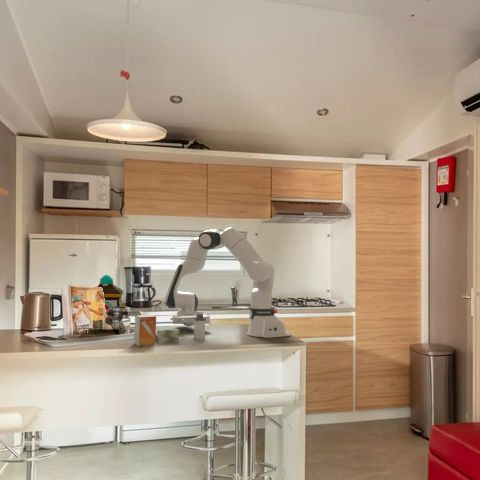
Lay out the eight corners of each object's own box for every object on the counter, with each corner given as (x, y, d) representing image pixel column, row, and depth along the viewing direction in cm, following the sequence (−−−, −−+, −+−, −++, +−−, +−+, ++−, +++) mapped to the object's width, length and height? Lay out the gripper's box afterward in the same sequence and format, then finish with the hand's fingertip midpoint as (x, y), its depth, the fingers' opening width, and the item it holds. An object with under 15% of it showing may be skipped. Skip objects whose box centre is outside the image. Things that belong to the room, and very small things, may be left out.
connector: (202, 337, 226) (203, 313, 227) (205, 339, 222) (205, 314, 222) (193, 337, 225) (194, 313, 225) (195, 339, 220) (196, 314, 221)
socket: (174, 338, 220) (175, 326, 221) (178, 342, 211) (179, 329, 211) (154, 339, 217) (154, 327, 217) (157, 343, 208) (157, 330, 208)
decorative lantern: (88, 328, 246) (90, 273, 248) (125, 328, 250) (126, 274, 252) (82, 334, 227) (84, 275, 228) (122, 334, 231) (124, 275, 232)
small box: (138, 346, 200) (139, 317, 201) (133, 343, 205) (134, 315, 206) (155, 344, 204) (156, 316, 205) (150, 342, 210) (151, 314, 210)
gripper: (169, 312, 245) (174, 315, 232) (206, 311, 252) (212, 315, 238) (169, 324, 245) (174, 328, 232) (205, 323, 251) (212, 327, 238)
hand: (194, 321), depth 235 cm, fingers open, 8 cm apart
